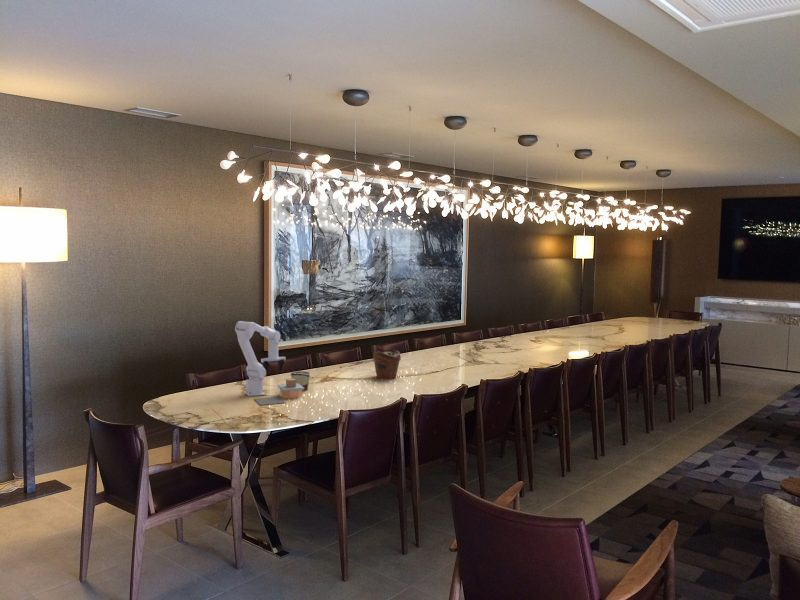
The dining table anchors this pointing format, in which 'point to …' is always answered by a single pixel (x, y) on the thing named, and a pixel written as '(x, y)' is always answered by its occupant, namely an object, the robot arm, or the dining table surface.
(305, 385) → the food container
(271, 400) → the mat
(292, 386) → the lid
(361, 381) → the dining table surface
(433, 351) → the dining table surface
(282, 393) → the bowl
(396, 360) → the brown pot
